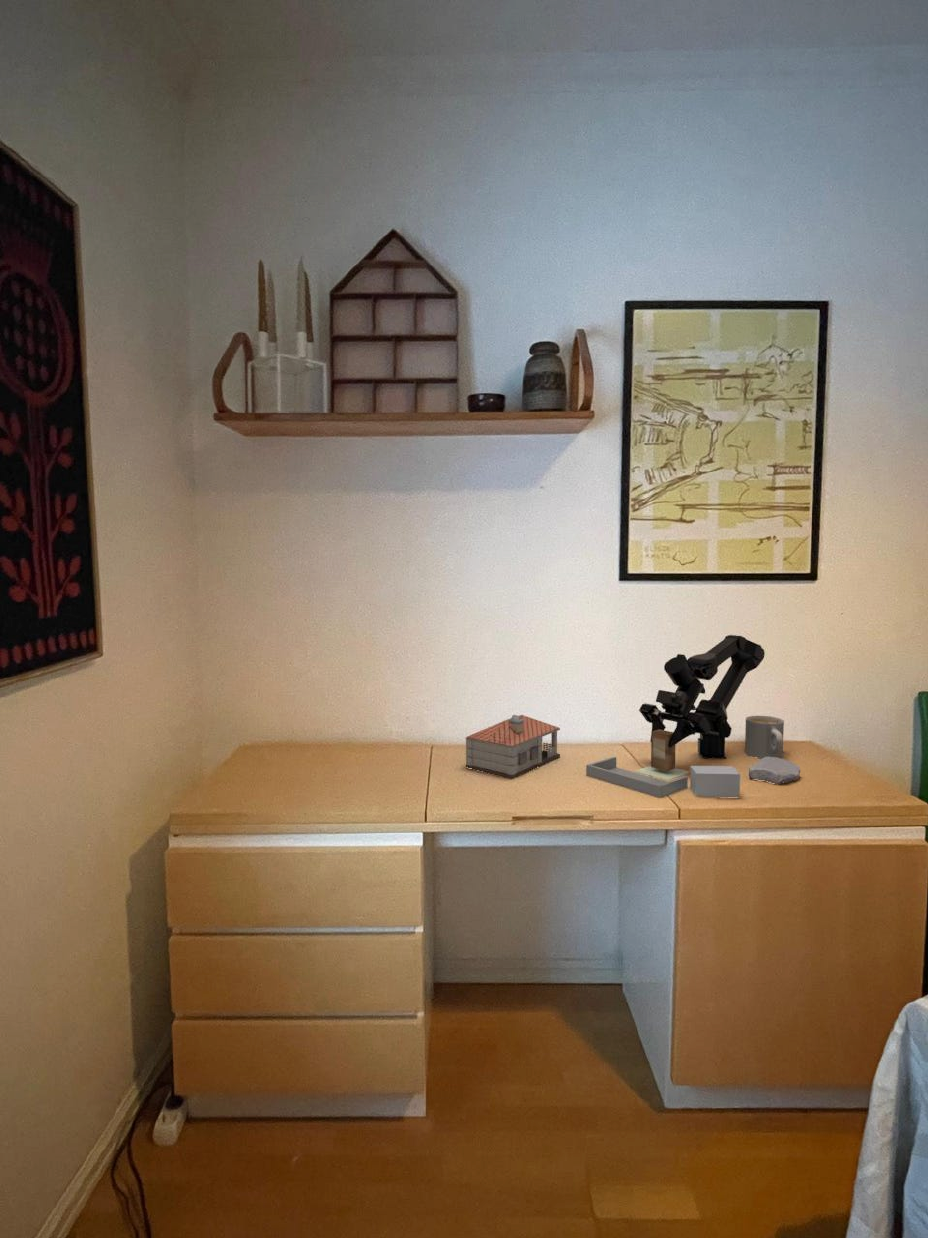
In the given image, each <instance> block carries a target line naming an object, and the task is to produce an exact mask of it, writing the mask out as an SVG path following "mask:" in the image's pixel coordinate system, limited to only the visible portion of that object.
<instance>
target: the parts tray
mask: <svg viewBox="0 0 928 1238" xmlns="http://www.w3.org/2000/svg"><path fill="white" fill-rule="evenodd" d="M585 767H586V769H585V775H586V776H587V777H590V778H593V779H597V780H600V781H604V782H607V783H610V784H614V785H616V786H620V787H623V788H627V789H629V790H632V791H636V792H639V793H642V794H646V795H648V796H649V795H650V796H652V797H655V798H659V799H661V798H663V797H666V796H668V795H671V794H674V793H676V792H680V791H682V790H685V789H688V782H689V781H688V780H689V776H687V775H682V776H679V777H676V778H674V779H671V780H664V779H660V778H657V777H653V776H650V775H646V774H643V773H639V772H635V771H631V770H628V769H624V768H621V767H617V756H612V757H607V758H605V759H602V760H598V761H595V762H592V763H589V764H586V766H585Z"/></svg>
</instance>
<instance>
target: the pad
mask: <svg viewBox="0 0 928 1238" xmlns="http://www.w3.org/2000/svg"><path fill="white" fill-rule="evenodd" d="M634 772H635V773H639V774H642V775H646V776H649V777H653V778H656V779H660V780H663V781H672V780H674V779H677V778H680V777H683V776H686V775H688V774H690V772H691V771H688V770H685V769H681V768H676V767H675V769H673V770H670V771H664V770H660V769H656V768H653V767H651V765H649V766H646V767H643V768H640V769H636V770H635V771H634Z"/></svg>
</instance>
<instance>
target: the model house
mask: <svg viewBox="0 0 928 1238" xmlns="http://www.w3.org/2000/svg"><path fill="white" fill-rule="evenodd" d="M560 730H561V728H560V727H558V726H556V725H552V724H550V723H547V722H545V721H542V720H538V719H535V718H533V717H530V716H527V715H524V714H519V715H517V714H512V716H511V718H508V719H505V720H503V721H501V722H498V723H495V724H493V725H491V726H488V727H487V728H483V729H482V730H481V729H480V730H479V731H477V732H475V733H473V734H470V735H467V736H466V737H465V768H466V767H468V768H472V769H475V770H479V771H483V772H487V773H486V774H488V773H490V774H489V775H492V774H494V775H493V776H497V775H498V776H497V777H501V776H502V778H506V779H511V780H514V779H516V778H518V777H520V776H524V775H525V774H527V772H528V773H529V771H530V772H532V771H534V770H536V769H538V768H537V767H539V768H541V767H543V766H545V765H547V764H549V763H551V762H553V761H556V760H558V759H560V758H561V754H560V753H558V731H560ZM548 735H551V743H549V742H543V737H545V736H548ZM535 768H536V769H535ZM533 769H534V770H533ZM475 770H474V771H475ZM531 770H532V771H531ZM479 771H478V772H479ZM483 772H482V773H483Z"/></svg>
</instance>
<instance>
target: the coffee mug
mask: <svg viewBox="0 0 928 1238" xmlns="http://www.w3.org/2000/svg"><path fill="white" fill-rule="evenodd" d="M784 724H785V721H784V719H783V718H779V717H775V716H770V715H749V716H746V718H745V738H744V754H745V753H746V755H747V756H748V757H751V756H752V758H755V757H757V758H756V759H761V758H764V757H777V758H780V759H782V758H783V757H784V728H785V727H784Z"/></svg>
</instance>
